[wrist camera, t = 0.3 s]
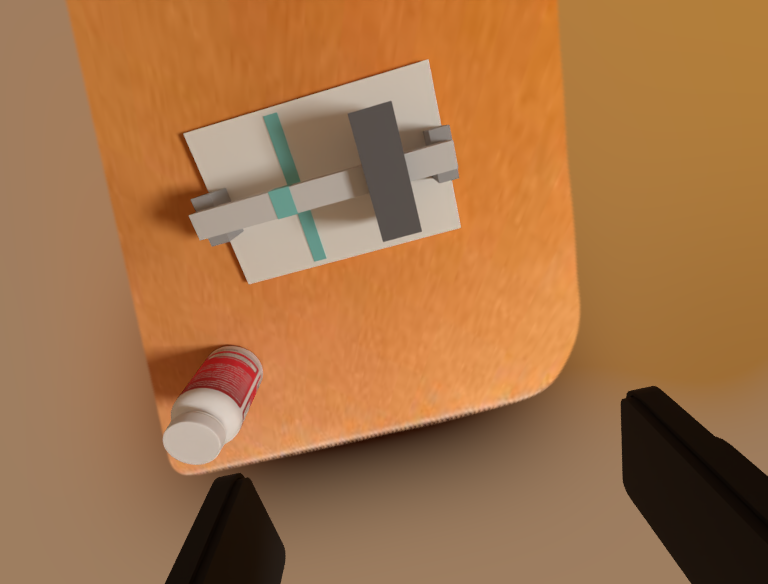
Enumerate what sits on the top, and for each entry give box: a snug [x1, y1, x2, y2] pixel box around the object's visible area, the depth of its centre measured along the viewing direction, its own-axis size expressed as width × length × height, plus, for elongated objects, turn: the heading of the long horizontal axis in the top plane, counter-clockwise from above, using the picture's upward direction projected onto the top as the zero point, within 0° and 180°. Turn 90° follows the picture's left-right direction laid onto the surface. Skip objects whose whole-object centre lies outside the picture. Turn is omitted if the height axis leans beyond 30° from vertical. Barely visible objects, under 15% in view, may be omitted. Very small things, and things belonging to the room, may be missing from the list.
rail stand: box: [183, 60, 461, 284], centre depth 32 cm, size 14×21×7 cm, turn 105°
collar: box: [348, 101, 422, 242], centre depth 29 cm, size 9×3×5 cm, turn 15°
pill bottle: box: [163, 346, 263, 465], centre depth 37 cm, size 6×6×11 cm
